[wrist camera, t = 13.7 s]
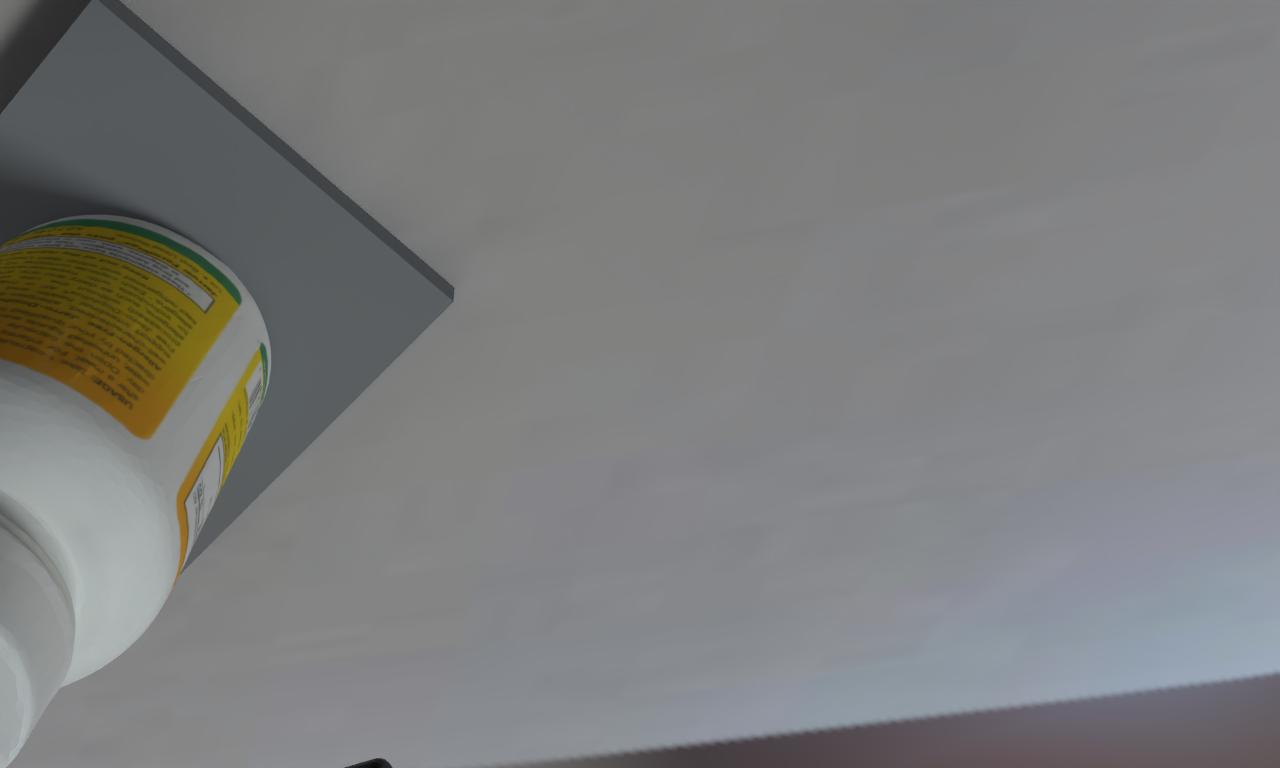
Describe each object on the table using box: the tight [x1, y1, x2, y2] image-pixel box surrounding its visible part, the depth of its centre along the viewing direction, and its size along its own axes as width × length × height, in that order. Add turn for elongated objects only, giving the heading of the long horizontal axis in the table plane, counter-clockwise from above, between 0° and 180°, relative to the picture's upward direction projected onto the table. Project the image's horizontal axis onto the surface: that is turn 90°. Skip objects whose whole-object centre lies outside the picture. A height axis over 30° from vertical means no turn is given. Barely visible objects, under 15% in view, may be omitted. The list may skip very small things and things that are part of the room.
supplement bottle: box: [0, 215, 271, 768], centre depth 14 cm, size 5×5×10 cm
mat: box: [0, 0, 454, 575], centre depth 18 cm, size 10×8×1 cm
